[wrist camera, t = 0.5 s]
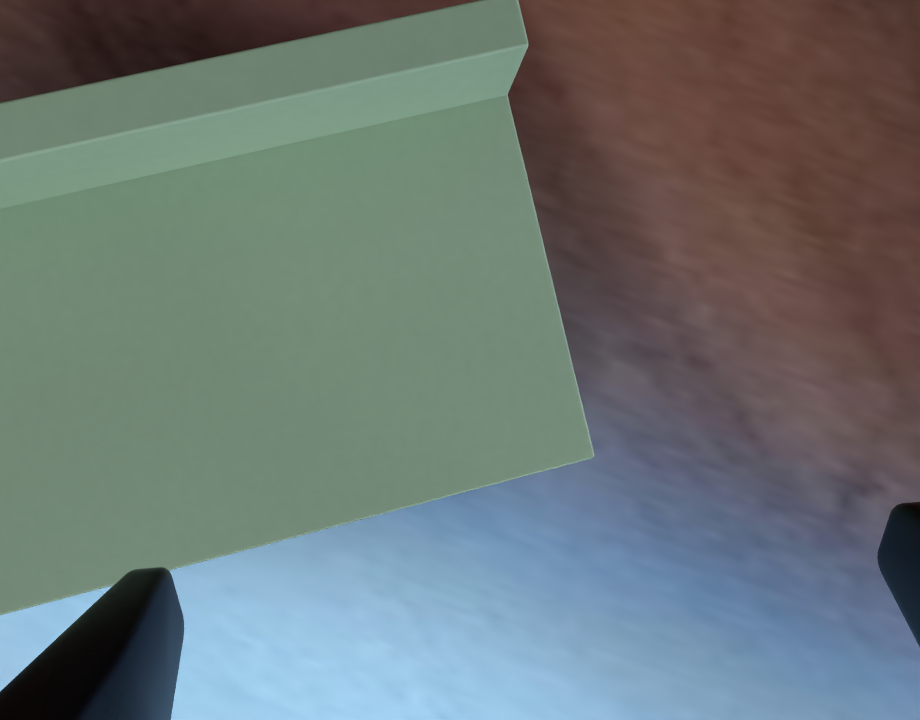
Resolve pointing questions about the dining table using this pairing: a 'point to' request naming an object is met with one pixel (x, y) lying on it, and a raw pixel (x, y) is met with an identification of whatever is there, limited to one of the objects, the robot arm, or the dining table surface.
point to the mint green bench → (270, 300)
